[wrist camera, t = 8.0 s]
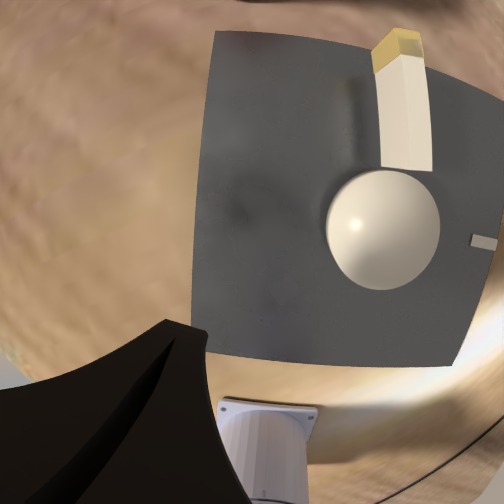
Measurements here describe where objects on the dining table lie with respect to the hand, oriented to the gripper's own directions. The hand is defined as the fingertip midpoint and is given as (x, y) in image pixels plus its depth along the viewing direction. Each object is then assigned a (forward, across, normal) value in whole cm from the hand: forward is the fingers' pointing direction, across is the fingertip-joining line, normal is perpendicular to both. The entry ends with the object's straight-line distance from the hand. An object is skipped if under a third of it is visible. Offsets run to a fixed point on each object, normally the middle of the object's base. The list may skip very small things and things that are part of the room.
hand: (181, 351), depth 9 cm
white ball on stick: (+8, -7, -7) cm, 13 cm away
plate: (+10, -8, -4) cm, 13 cm away
